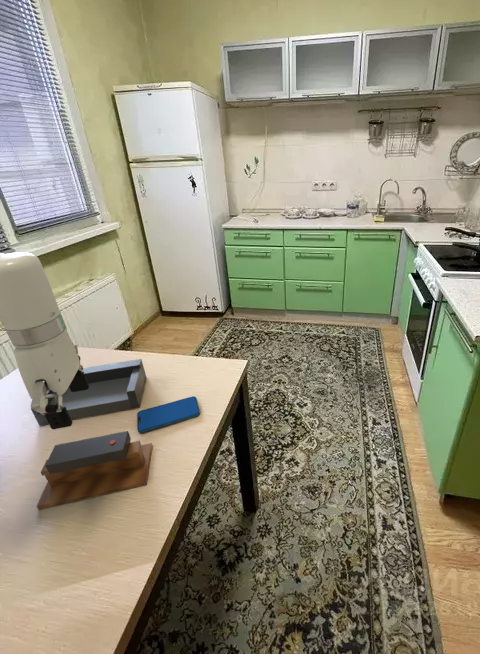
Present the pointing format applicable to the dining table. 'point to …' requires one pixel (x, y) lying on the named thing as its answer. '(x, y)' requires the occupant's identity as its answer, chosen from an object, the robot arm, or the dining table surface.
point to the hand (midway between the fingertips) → (72, 406)
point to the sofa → (104, 391)
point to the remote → (88, 452)
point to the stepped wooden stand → (97, 478)
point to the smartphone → (167, 414)
